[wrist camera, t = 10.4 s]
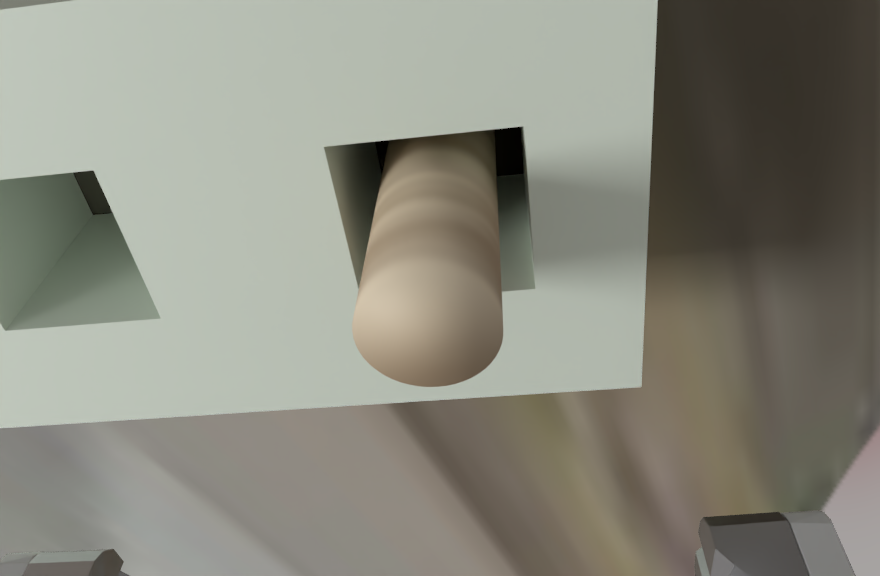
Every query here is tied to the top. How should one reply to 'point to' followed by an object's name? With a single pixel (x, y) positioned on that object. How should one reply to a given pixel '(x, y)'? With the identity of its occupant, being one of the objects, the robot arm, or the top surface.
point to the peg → (433, 262)
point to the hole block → (303, 195)
